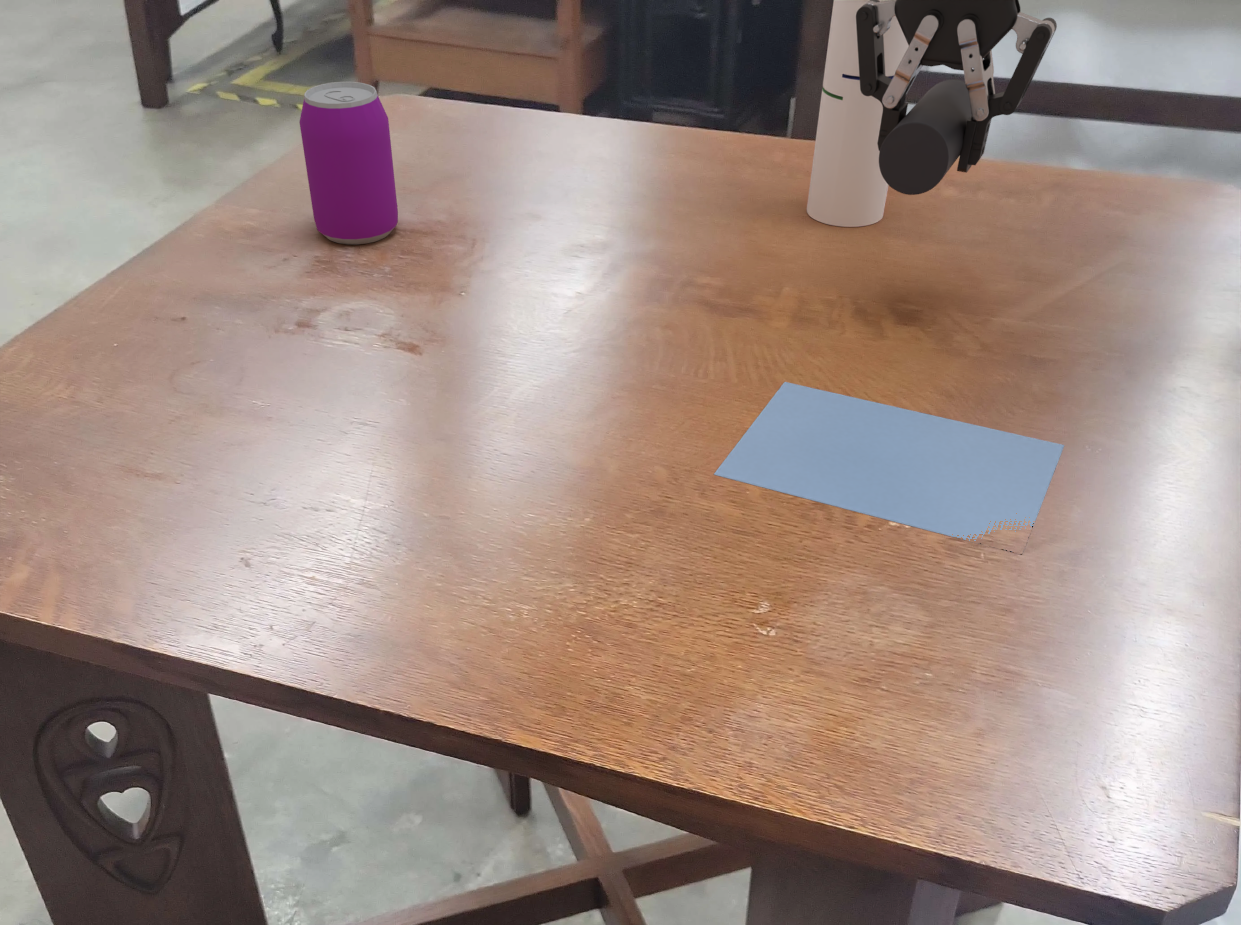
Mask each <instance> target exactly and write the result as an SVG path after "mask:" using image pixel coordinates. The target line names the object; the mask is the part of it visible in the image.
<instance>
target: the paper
mask: <svg viewBox="0 0 1241 925" xmlns="http://www.w3.org/2000/svg"><path fill="white" fill-rule="evenodd" d="M1064 447H1065V444H1061V443H1058V442H1054V441H1053V442H1052V441H1048V440H1043V439H1040V438H1035V437H1031V436H1027V435H1021V434H1018V433H1012V432H1008V431H1005V430H1004V431H1003V430H1000V429H996V428H991V427H986V426H982V425H978V424H973V423H969V422H964V421H960V420H956V419H951V418H948V417H947V418H946V417H943V416H939V415H933V414H930V413H925V412H920V411H916V410H911V409H907V408H902V407H899V406H894V405H890V404H885V403H881V402H877V401H872V400H868V399H863V398H858V397H854V396H850V395H845V394H841V393H837V392H832V391H828V390H824V389H818V388H814V387H809V386H806V385H801V384H797V383H793V382H788V381H784V382H783V383H782V384H781V385H780V387H779V388H778V390H777V391H776V392H775V394H774V395H773V396H772V398H771V399H770V400H769V401H768V403H767V404H766V405H765V407H764V408H763V409H762V410H761V412H760V413H759V414H758V415H757V417H756V418H755V420H754V421H753V422H752V423H751V425H750V426H749V427H748V429H747V430H746V431H745V433H744V434H743V435H742V436H741V438H740V439H739V441H738V442H737V443H736V444H735V445H734V447H733V449H731V451H730V452H729V453H728V455H727V456H726V457H725V459H724V460H723V461H722V462H721V464H720V465H719V467H718V468H717V469H716V471H715V472H714V473H713V476H715V477H716V476H717V477H719V478H723V479H728V480H732V481H736V482H740V483H743V484H747V485H751V486H755V487H758V488H762V489H765V490H770V491H774V492H777V493H782V494H785V495H790V496H793V497H796V498H801V499H805V500H808V501H812V502H816V503H821V504H824V505H828V506H832V507H835V508H839V509H843V510H845V511H846V510H847V511H850V512H853V513H859V514H862V515H866V516H870V517H873V518H877V519H880V520H881V519H882V520H886V521H889V522H892V523H896V524H901V525H903V526H908V527H911V528H916V529H920V530H924V531H928V532H931V533H935V534H938V533H939V535H942V534H943V535H942V536H947V537H950V536H951V538H954V537H957V538H956V539H958V538H961V537H962V538H963V540H962V541H965V540H966V538H968V539H969V541H970V539H972V537H973V535H974V534H976V535H977V536H975V535H974V536H975V538H973V539H977V537H978V536H979V534H983V535H984V534H985V532H986V530H987V528H988V526H989V527H990V528H988V530H989V532H988V534H990V532H991V530H992V528H993V526H995V525H996V527H997V528H998V525H999V522H1000V521H1003V522H1001V523H1002V524H1000V525H1001V528H1000V530H1002V528H1003V525H1004V522H1005V521H1008V522H1006V524H1007V525H1005V526H1008V525H1009V522H1010V521H1012V522H1010V523H1011V524H1012V525H1009V526H1013V524H1014V521H1017V522H1015V523H1016V525H1014V526H1018V523H1019V521H1022V522H1020V524H1021V525H1019V526H1025V525H1026V526H1027V525H1028V521H1029V520H1030V522H1031V523H1029V524H1030V526H1031V527H1032V526H1033V527H1035V526H1034V525H1035V523H1036V521H1037V518H1038V515H1039V512H1040V510H1041V508H1042V505H1043V502H1044V499H1045V497H1046V494H1047V492H1048V489H1049V487H1050V484H1051V481H1052V479H1053V476H1054V474H1055V471H1056V469H1057V466H1058V464H1059V461H1060V458H1061V455H1062V453H1063V450H1064ZM1016 513H1017V514H1016ZM1025 517H1026V518H1025ZM1029 517H1030V518H1029ZM1005 519H1006V520H1005ZM1010 519H1011V520H1010ZM1015 519H1016V520H1015ZM1024 519H1025V521H1026V522H1027V523H1025V525H1023V523H1024ZM990 521H991V522H990ZM995 521H996V523H995ZM1033 521H1035V522H1033ZM989 523H990V524H989ZM994 523H995V525H994ZM1033 523H1034V525H1032V524H1033ZM996 527H994V528H995V529H996V530H997V528H996ZM1006 528H1007V527H1006ZM1015 528H1016V529H1017V527H1015ZM1020 528H1022V527H1020ZM995 529H993V530H995ZM1016 529H1014V530H1016ZM1025 529H1026V527H1025ZM1030 529H1031V528H1030ZM1005 530H1007V529H1005ZM1009 530H1012V527H1011V529H1009ZM1019 530H1021V529H1019ZM981 531H982V532H983V533H982V532H981ZM994 532H995V531H994ZM1015 532H1016V531H1015ZM952 534H953V535H952ZM970 534H971V535H970ZM957 535H959V536H957ZM963 535H964V536H963ZM968 535H969V536H970V538H969V537H967V536H968ZM983 535H982V537H983ZM981 539H982V538H981ZM969 541H968V542H969ZM974 541H976V540H974Z"/></svg>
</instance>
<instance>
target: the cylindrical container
mask: <svg viewBox="0 0 1241 925" xmlns="http://www.w3.org/2000/svg"><path fill="white" fill-rule="evenodd" d="M868 1H870V0H833V3H832V10H831V11H832V12H831V19H830V26H829V32H828V33H829V35H828V41H827V42H828V43H827V51H826V57H825V65H824V72H823V80H822V89H821V95H820V104H819V110H818V118H817V125H816V126H817V127H816V135H815V142H814V151H813V157H812V164H811V173H810V181H809V189H808V195H807V204H806V213H807V215H808V216H809V217H810V218H811V219H813V220H815V221H817V222H819V223H822V224H826V225H830V226H834V227H835V226H836V227H841V228H843V227H845V228H857V227H859V228H860V227H865V226H866V227H867V226H871V225H873V224H876V223H878V222H880V221H881V220H882V219H883V218H884V213H885V207H886V201H887V196H888V190H889V185H888V184H887V183H886V181H885V180H884V178H883V176H882V174H881V171H880V168H879V152H880V151H879V149H878V144H877V143H878V137H879V131H880V125H881V119H882V113H883V106H882V104H881V102H880V101H879V100H878V99H876V98H874V97H872V96H865V95H863V94H862V93H861V90H860V77H859V60H858V44H857V28H856V13H857V11H858V10H859V9H860V8H861V7H862V6H863V5H864V4H865V3H867V2H868ZM879 1H880V2H881V1H888V0H879ZM883 38H884V58H885V76H887V77H889V78H891V79H893V77H894V75H895V72H896V69H897V68H898V66H899V64H900V62H901V60H902V58H903V56H904V54H905V52H906V51H907V49H908V47H909V45H908V43H907V41H906V38H905V36H904V34H903V32H902V29H901V27H900V25H899V23H898V20H897V18H896V16H894V17H892V20H891V25H890V28H889V30H888V31H887V32H885V33H884V34H883Z"/></svg>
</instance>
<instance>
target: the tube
mask: <svg viewBox="0 0 1241 925" xmlns="http://www.w3.org/2000/svg"><path fill="white" fill-rule="evenodd" d="M971 115H972V114H971V107H970V99H969V92H968V89H967V88H966V84H965V80H960V79H955V78H953V79H946V80H943V81H940V82H938V83H936V84H935V85H933V86H932V87H931V88H929V89H928V91H926V93H925V94H923V96H922V97H921V98H920V99H919V100H918V101H917V102H916V104H915V105H914V106H913V107H912V108H911V109H910V110H909V112H907V113H906V116H905V117H904V118H903V119H902V120H901V121H900V122H899V124H898V125H897V126H896V127H895V128H894V129H893V130H892V131H891V132H890V133H889V135H888V136H887V137H886V138H885V140H884V142H883V143H882V146H881V149H880V152H879V168H880V171H881V174H882V176H883V178H884V180H885V181H886V183H887V184H888V187H890V188H891V189H893V190H894V191H896V192H898V193H900V194H903V195H908V196H917V195H921V194H925V193H927V192H929V191H931V190H933V189H934V188H935V187H936V186H938V184H939V183H941V181H942V180H943V179H944V177H945V176H946V175H947V173H948V172H949V170H950V169H951V168H952V166H953V165H954V164H955V162H956V161H957V160H958V159H959V158H960V153H961V149H962V145H963V139H964V134H965V129H966V124H967V120H968V119H969V118H970V117H971Z"/></svg>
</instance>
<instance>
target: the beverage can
mask: <svg viewBox="0 0 1241 925" xmlns="http://www.w3.org/2000/svg"><path fill="white" fill-rule="evenodd" d="M299 129H300V135H301V142H302V148H303V149H302V150H303V155H304V162H305V168H306V169H305V170H306V174H307V181H308V188H309V196H310V201H311V208H312V214H313V215H312V216H313V220H314V223H315V227H316V230H317V231H318V232H319V233H320V234H322V235H323V236H324V237H325V238H326V239H327V240H329V241H331V242H333V243H336V244H340V245H341V244H342V245H366V244H371V243H374V242H378V241H381V240H383V239H385V238H386V237H388V236H389V235H390V234H391V233H392V231H393V230H394V229H395V228H396V227H397V224H398V223H399V210H398V200H397V199H398V198H397V190H396V180H395V171H394V170H395V169H394V162H393V160H394V159H393V152H392V142H391V133H390V122H389V116H388V115H387V112H386V110H385V108H384V105H383V103H382V102H381V99H380V97H379V95H378V92H377V89H376V87H375V86H372V85H371V84H368V83H364V82H356V81H336V82H334V81H333V82H327V83H322V84H318V85H315V86H312V87H310V88H308V89H306V90H305V92H304V94H303V102H302V108H301V113H300V117H299Z"/></svg>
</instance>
